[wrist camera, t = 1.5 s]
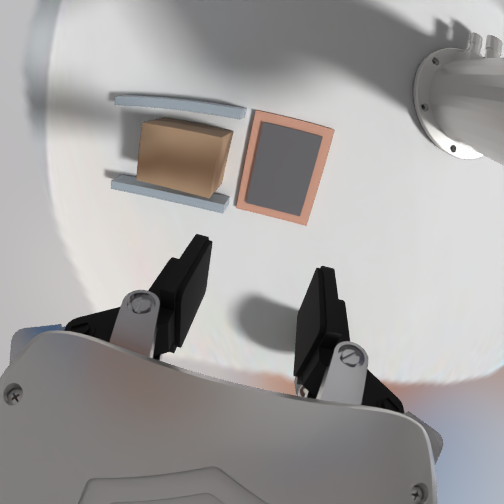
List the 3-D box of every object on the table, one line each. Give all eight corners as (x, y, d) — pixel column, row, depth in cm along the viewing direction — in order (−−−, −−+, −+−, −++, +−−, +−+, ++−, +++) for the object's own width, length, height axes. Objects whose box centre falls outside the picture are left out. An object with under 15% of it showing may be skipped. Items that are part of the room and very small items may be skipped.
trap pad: (256, 110, 26) (255, 110, 26) (334, 129, 26) (334, 130, 25) (236, 206, 32) (235, 209, 31) (306, 224, 32) (306, 226, 31)
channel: (127, 95, 27) (115, 96, 25) (246, 108, 26) (241, 109, 24) (121, 181, 32) (111, 188, 30) (228, 204, 32) (222, 213, 30)
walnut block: (164, 117, 28) (142, 122, 24) (233, 130, 28) (221, 137, 24) (157, 167, 31) (136, 179, 27) (222, 182, 31) (209, 198, 27)
